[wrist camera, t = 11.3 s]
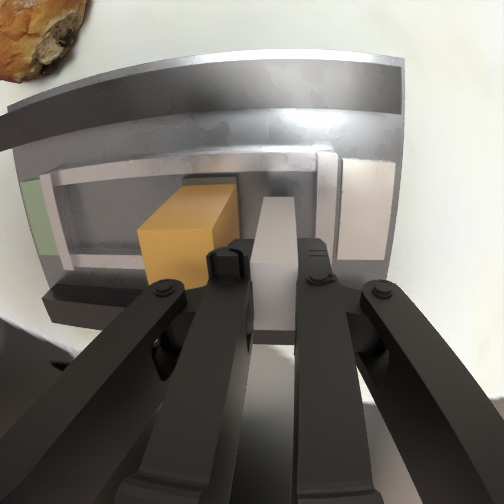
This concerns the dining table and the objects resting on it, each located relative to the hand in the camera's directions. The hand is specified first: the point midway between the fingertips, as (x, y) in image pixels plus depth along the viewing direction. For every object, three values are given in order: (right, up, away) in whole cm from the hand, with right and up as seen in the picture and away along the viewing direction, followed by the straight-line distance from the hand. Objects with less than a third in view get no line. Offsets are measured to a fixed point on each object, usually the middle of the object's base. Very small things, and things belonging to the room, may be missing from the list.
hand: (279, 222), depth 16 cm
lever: (-4, +1, +2) cm, 4 cm away
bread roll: (-17, +16, -1) cm, 23 cm away
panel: (-6, +2, +4) cm, 7 cm away
